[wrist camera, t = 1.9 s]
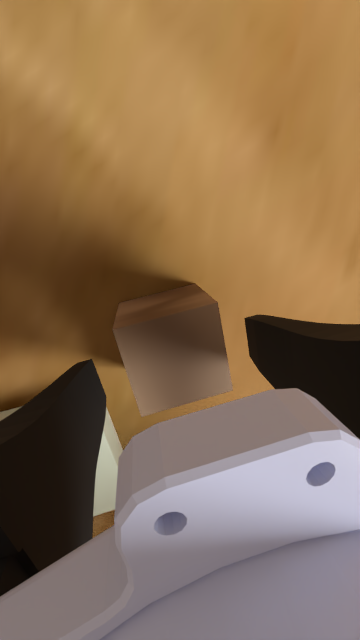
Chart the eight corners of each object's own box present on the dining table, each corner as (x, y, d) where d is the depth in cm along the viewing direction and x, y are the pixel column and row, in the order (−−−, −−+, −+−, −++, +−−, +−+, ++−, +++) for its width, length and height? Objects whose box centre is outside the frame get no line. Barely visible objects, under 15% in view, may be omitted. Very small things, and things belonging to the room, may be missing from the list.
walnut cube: (194, 283, 15) (217, 302, 11) (208, 350, 17) (232, 390, 12) (119, 302, 15) (112, 329, 10) (140, 369, 16) (141, 416, 12)
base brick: (98, 381, 16) (92, 405, 14) (133, 470, 19) (132, 503, 17) (-31, 416, 16) (-59, 448, 13) (24, 504, 19) (8, 543, 16)
